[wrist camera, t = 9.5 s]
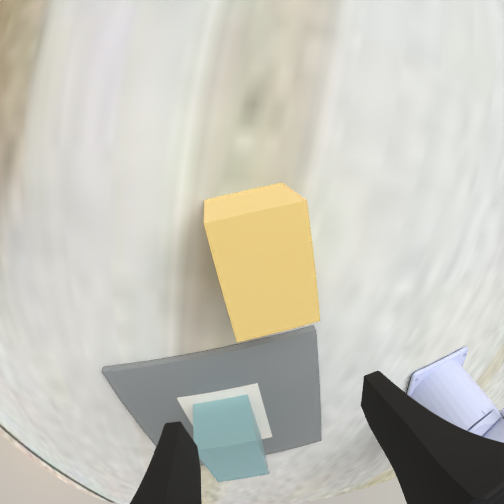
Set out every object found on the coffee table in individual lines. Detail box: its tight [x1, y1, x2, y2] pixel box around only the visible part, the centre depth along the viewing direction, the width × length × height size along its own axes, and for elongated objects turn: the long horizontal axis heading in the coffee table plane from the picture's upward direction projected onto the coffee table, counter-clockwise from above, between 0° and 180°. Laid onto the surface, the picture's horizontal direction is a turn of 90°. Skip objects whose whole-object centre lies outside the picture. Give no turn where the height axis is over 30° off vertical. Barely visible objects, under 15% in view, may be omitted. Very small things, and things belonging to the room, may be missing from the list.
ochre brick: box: [204, 183, 320, 342], centre depth 16 cm, size 6×4×4 cm
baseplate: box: [102, 325, 321, 465], centre depth 23 cm, size 16×16×1 cm
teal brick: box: [193, 394, 269, 482], centre depth 21 cm, size 6×4×4 cm
